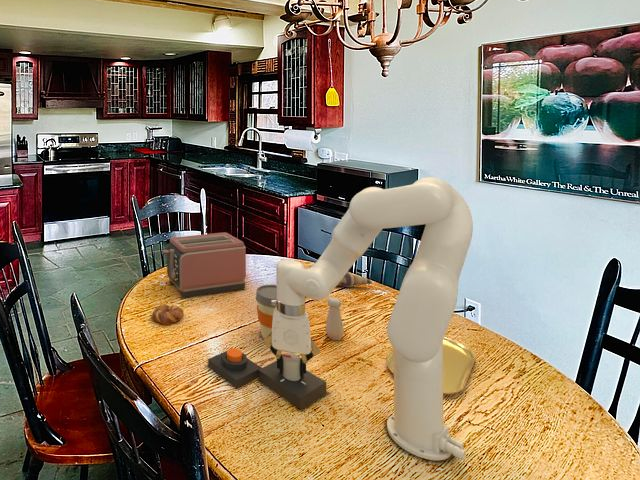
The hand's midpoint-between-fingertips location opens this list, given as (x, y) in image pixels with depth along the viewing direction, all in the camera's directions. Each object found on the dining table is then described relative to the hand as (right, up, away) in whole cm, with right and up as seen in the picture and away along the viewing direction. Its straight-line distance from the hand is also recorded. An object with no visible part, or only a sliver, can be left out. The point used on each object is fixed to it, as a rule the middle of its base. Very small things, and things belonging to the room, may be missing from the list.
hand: (291, 372), depth 109 cm
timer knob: (0, -1, 0) cm, 1 cm away
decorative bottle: (+43, -5, +67) cm, 80 cm away
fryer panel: (0, -4, 0) cm, 4 cm away
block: (-14, -4, +7) cm, 17 cm away
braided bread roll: (-33, -5, +39) cm, 52 cm away
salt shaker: (+23, -4, +25) cm, 34 cm away
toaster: (-18, -5, +68) cm, 70 cm away
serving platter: (+45, -4, +10) cm, 46 cm away
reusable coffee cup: (+3, -4, +26) cm, 27 cm away
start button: (-14, 0, +7) cm, 16 cm away
